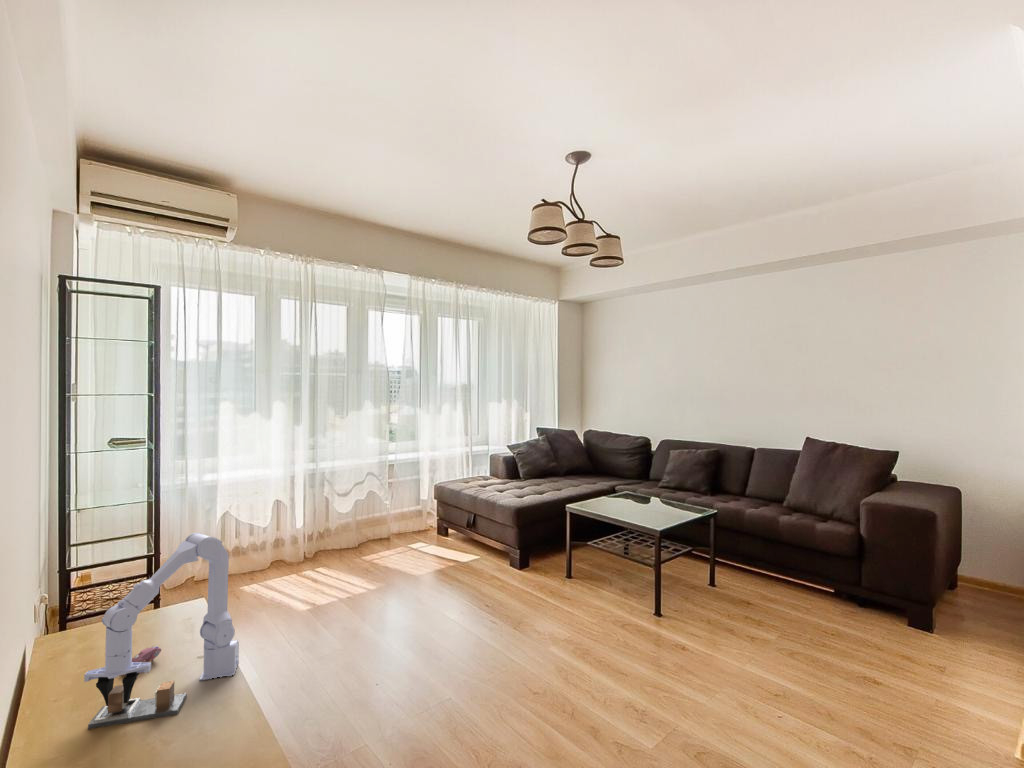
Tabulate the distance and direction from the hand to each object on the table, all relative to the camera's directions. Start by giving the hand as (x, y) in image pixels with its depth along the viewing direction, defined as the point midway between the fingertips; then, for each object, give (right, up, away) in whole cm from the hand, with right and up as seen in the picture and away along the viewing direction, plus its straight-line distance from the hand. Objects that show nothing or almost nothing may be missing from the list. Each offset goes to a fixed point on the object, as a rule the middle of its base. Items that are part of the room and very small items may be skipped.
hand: (118, 702), depth 136 cm
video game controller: (-11, -5, +24) cm, 27 cm away
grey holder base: (+5, -4, +1) cm, 6 cm away
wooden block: (0, -2, 0) cm, 2 cm away
